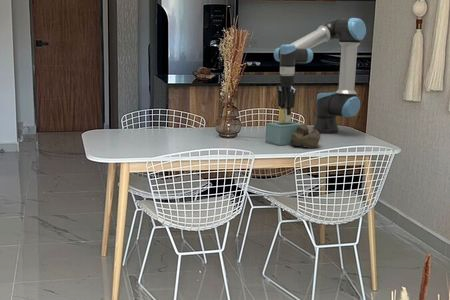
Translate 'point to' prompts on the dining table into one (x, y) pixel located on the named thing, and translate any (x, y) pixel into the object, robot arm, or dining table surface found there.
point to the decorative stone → (305, 137)
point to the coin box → (280, 132)
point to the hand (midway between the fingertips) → (285, 120)
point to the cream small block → (283, 115)
